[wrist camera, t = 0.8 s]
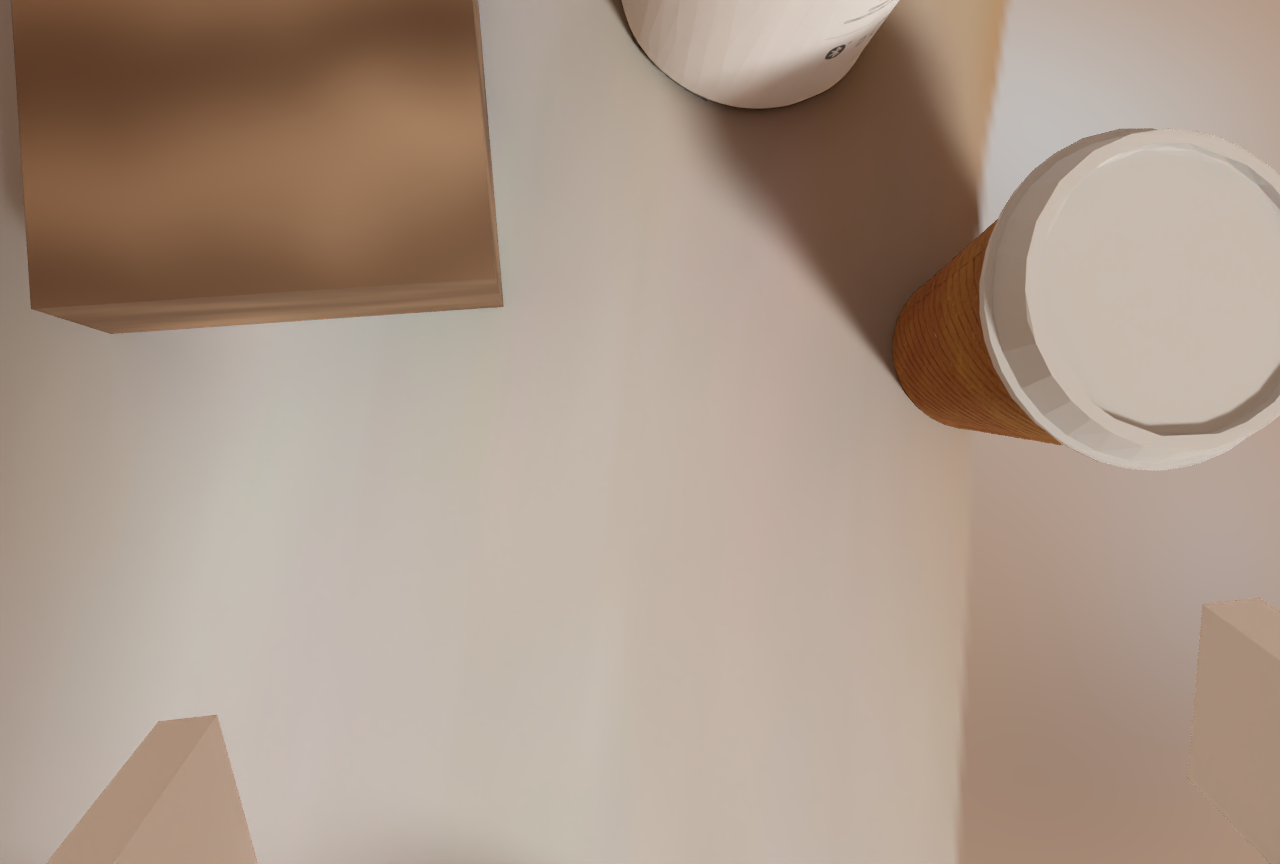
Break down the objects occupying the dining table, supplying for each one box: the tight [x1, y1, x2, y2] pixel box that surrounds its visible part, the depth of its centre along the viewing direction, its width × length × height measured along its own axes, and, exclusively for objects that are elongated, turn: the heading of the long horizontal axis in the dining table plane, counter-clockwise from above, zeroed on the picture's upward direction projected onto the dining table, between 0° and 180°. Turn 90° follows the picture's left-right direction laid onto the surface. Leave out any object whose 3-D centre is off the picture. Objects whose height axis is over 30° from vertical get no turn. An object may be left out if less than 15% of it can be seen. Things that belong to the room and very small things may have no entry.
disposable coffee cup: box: [893, 128, 1280, 471], centre depth 30 cm, size 10×10×12 cm
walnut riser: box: [11, 0, 503, 334], centre depth 31 cm, size 14×14×5 cm
